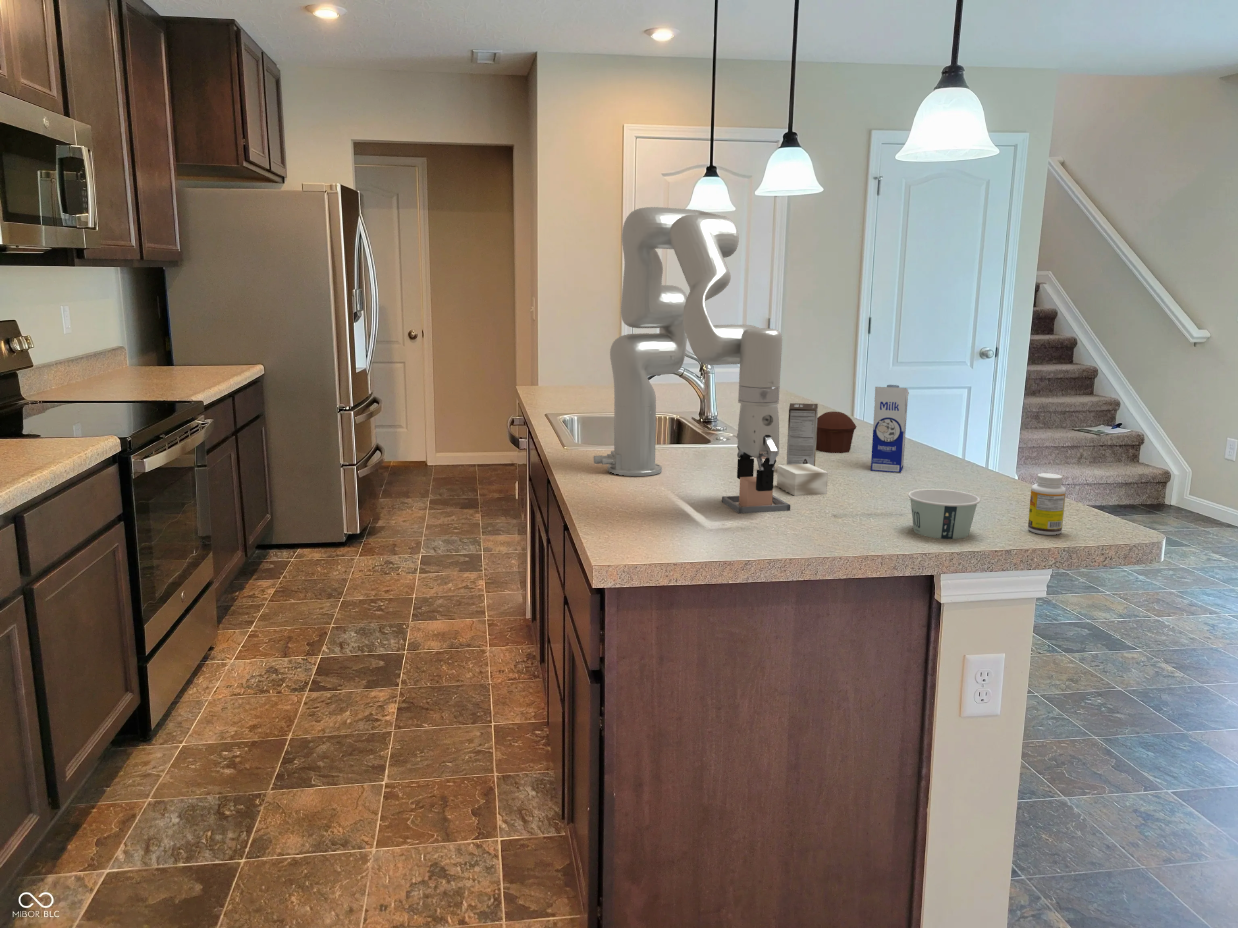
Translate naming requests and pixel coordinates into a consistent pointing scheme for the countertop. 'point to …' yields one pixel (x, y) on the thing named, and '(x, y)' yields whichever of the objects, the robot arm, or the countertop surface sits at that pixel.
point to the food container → (942, 512)
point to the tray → (754, 509)
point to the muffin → (834, 432)
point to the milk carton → (889, 428)
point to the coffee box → (802, 433)
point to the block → (753, 493)
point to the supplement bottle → (1047, 505)
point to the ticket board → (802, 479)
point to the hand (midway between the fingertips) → (754, 484)
